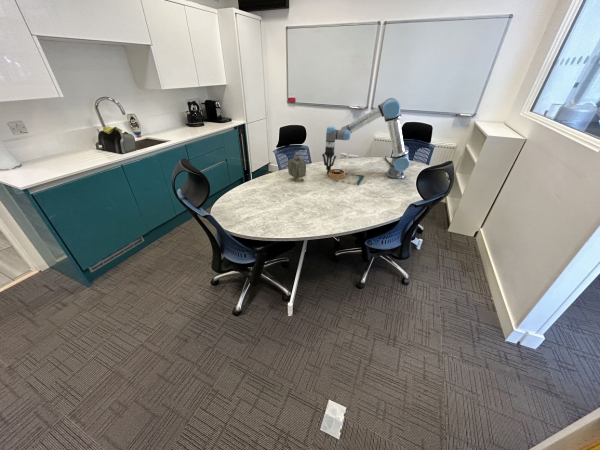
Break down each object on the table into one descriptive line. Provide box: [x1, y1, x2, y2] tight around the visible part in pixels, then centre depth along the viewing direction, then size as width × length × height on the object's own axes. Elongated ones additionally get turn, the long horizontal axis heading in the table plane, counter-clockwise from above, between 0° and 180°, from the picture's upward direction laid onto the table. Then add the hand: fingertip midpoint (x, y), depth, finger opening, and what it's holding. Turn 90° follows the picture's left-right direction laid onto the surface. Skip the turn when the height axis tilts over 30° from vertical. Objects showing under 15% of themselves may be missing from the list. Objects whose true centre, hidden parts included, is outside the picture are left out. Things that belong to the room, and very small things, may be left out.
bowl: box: [328, 168, 346, 180], centre depth 215 cm, size 14×14×4 cm
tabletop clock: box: [287, 150, 307, 182], centre depth 203 cm, size 14×9×25 cm, turn 34°
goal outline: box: [356, 174, 364, 186], centre depth 213 cm, size 22×22×1 cm
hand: (328, 173), depth 218 cm, fingers closed
